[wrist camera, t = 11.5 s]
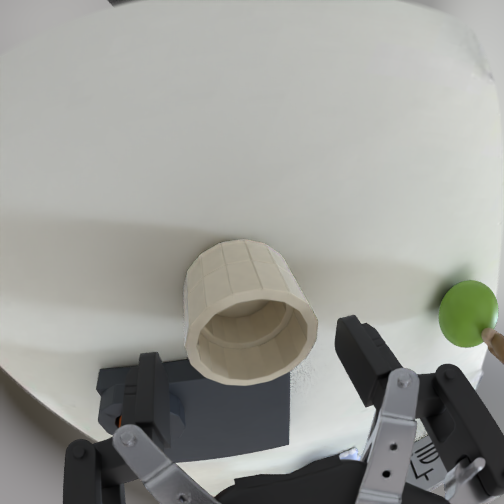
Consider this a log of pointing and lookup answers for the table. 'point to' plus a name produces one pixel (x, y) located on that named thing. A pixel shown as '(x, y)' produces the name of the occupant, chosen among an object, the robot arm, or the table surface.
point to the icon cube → (425, 466)
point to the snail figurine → (471, 317)
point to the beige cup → (245, 314)
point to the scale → (208, 413)
